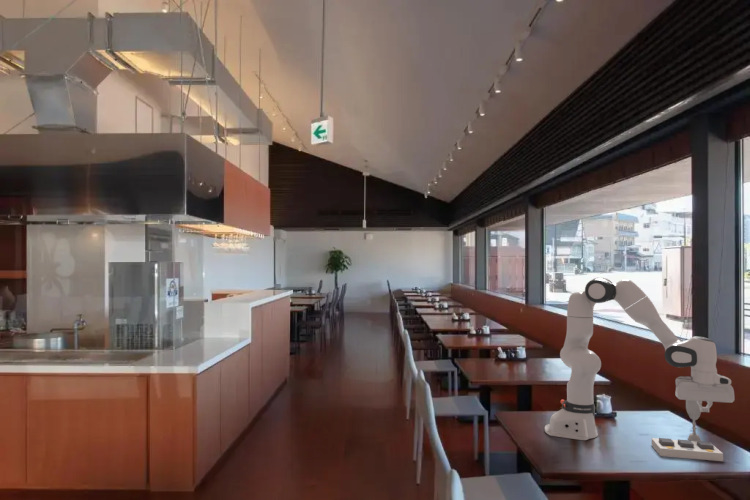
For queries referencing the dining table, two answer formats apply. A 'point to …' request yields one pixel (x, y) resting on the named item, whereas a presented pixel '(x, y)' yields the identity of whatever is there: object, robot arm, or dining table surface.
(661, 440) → the button left
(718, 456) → the panel
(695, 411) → the chalice
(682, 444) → the button middle
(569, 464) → the dining table surface
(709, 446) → the button right
